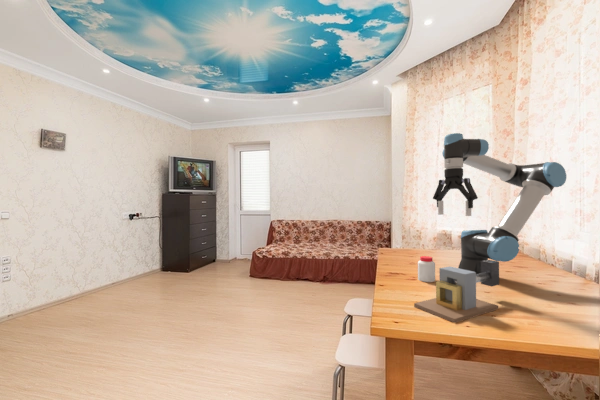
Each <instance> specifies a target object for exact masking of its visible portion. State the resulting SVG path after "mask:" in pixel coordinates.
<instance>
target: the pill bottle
mask: <svg viewBox="0 0 600 400" xmlns="http://www.w3.org/2000/svg"><path fill="white" fill-rule="evenodd" d="M417 280H418V281H420V282H424V283H433V282H436V262H435V261H434V260H433V257H432V256H429V255H428V256H427V255H422V256H420V257H419V260H418V261H417Z"/></svg>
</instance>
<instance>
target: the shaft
mask: <svg viewBox="0 0 600 400" xmlns="http://www.w3.org/2000/svg"><path fill="white" fill-rule="evenodd" d="M477 283H480V284H481V285H483V286H487V287H495V286H499V285H500V261H495V260H492V259H488V260H485V261H481V273H479V274H476V284H477ZM452 284H456V285H457V279H452Z"/></svg>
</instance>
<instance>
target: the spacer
mask: <svg viewBox="0 0 600 400" xmlns="http://www.w3.org/2000/svg"><path fill="white" fill-rule="evenodd" d="M445 289H449V290H452V301H453V302H452V301H449V300H446V299H445ZM435 292H436V293H435V294H436V295H435V298H436V304H439V305H442V306H445V307H447V308H450V309H453V310H456V311H458V310H461V309H462V286H460V285H456V284H452V283H449V282H445V281H440V280H438V281H435Z"/></svg>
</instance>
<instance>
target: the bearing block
mask: <svg viewBox="0 0 600 400" xmlns="http://www.w3.org/2000/svg"><path fill="white" fill-rule="evenodd" d="M452 279H457V285H460V286H462V309H461V310H458V311H456V310H453V309H450V308H447V307H445V306H442V305H439V304H436V297H434V298H431V299H425V300H422V301H419V302H414V303H413V306H414V308H416V309H419V310H422V311H425V312H426V313H430V314H432V315H434V316H437V317H439V318H442V319H444V320H447V321H449V322H452V323H455V324H456V323H458V322H462V321H464V320H468V319H471V318H474V317H478V316H481V315H484V314H486V313H490V312H494V311H496V310H499V305H498V304H495V303H491V302H488V301H484V300H481V299H477V283H476V272H473V271H469V270H464V269H459V268H458V267H454V266H446V267H445V266H444V267H440V268H439V281H445V282H449V283H452ZM445 299H446V300H449V301H452V290H449V289H445ZM452 302H453V301H452Z"/></svg>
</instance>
